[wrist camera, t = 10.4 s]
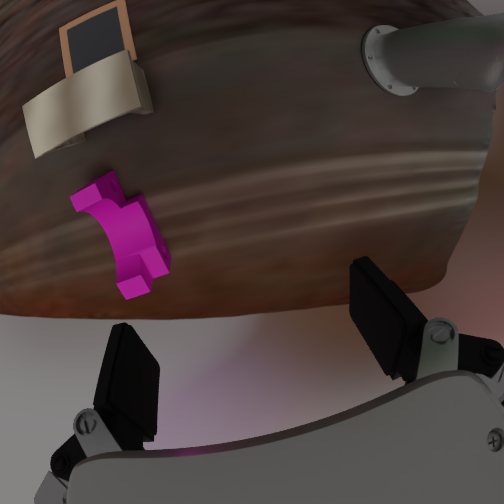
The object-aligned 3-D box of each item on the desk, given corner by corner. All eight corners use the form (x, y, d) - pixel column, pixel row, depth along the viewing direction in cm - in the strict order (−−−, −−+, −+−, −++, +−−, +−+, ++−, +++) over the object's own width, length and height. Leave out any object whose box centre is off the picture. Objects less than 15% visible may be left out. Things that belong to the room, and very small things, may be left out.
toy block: (171, 256, 39) (167, 285, 32) (135, 270, 39) (126, 299, 32) (130, 162, 31) (114, 173, 25) (91, 181, 31) (69, 196, 25)
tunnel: (147, 69, 26) (127, 48, 16) (158, 110, 29) (141, 106, 19) (66, 106, 25) (22, 106, 15) (77, 144, 28) (35, 158, 18)
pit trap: (125, -2, 19) (124, -3, 19) (137, 59, 25) (136, 58, 24) (60, 29, 19) (58, 28, 18) (70, 90, 24) (68, 90, 24)
